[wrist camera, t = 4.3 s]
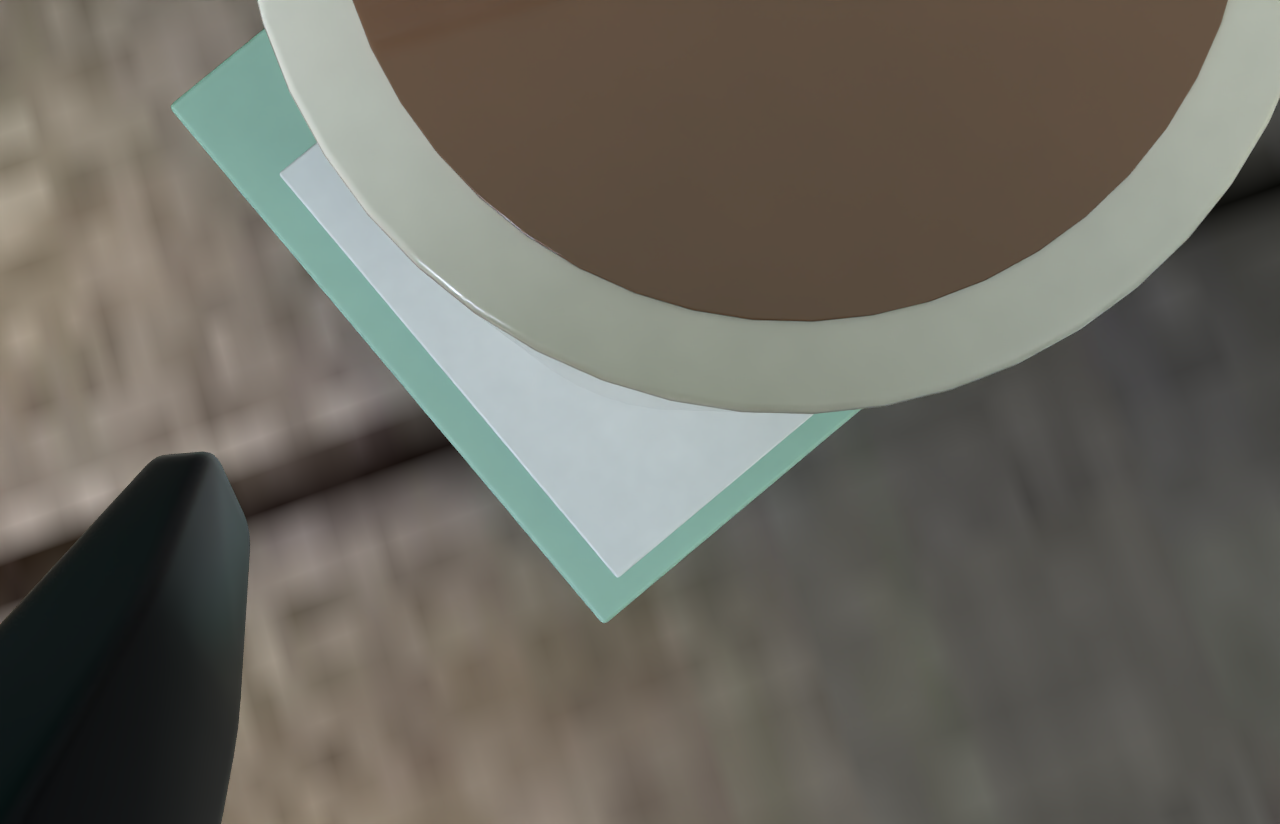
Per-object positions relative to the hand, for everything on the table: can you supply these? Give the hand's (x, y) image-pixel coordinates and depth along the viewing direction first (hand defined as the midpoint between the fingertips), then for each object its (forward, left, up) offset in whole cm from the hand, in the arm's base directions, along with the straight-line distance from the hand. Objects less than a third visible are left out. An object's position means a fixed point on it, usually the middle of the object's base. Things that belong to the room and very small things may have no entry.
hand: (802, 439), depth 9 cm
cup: (+2, +3, -9) cm, 10 cm away
